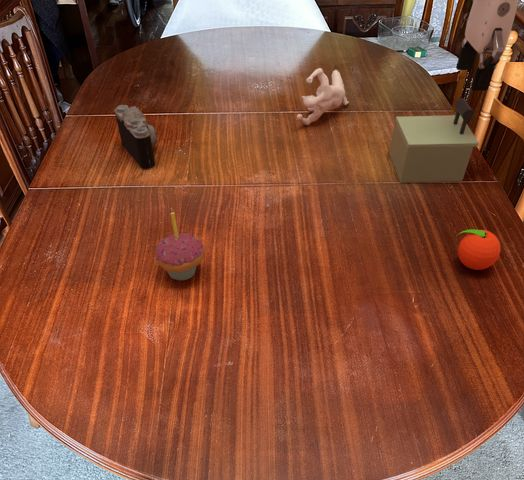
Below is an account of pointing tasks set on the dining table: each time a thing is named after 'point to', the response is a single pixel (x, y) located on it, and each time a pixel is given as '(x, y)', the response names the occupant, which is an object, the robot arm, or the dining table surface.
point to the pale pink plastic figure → (324, 96)
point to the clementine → (478, 249)
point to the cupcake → (179, 253)
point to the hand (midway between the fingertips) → (471, 79)
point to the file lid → (439, 129)
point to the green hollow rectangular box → (427, 161)
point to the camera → (136, 135)
